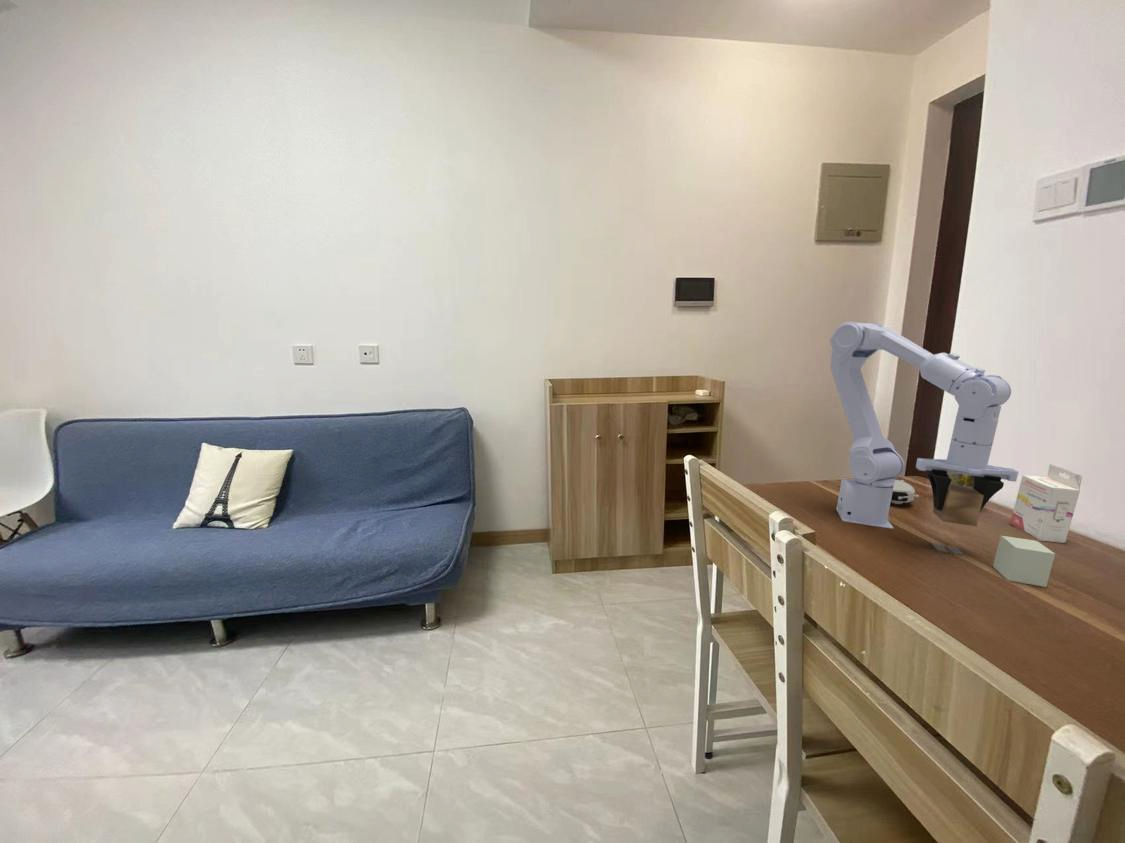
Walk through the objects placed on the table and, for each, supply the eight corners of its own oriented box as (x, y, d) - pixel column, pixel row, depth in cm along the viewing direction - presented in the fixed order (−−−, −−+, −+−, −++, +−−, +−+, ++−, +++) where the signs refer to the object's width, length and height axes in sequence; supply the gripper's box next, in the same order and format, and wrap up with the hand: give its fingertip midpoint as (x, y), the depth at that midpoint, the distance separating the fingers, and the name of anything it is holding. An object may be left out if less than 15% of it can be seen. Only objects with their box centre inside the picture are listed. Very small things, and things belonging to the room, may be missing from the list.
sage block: (1007, 580, 78) (1016, 547, 76) (992, 566, 82) (1000, 535, 81) (1046, 587, 76) (1055, 553, 75) (1028, 572, 81) (1036, 540, 79)
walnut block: (943, 521, 86) (950, 491, 85) (932, 511, 90) (939, 482, 89) (976, 526, 84) (983, 495, 83) (964, 516, 89) (971, 486, 87)
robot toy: (846, 504, 114) (920, 511, 108) (848, 487, 113) (922, 492, 107) (838, 489, 125) (905, 494, 119) (839, 473, 124) (906, 477, 118)
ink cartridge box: (1007, 523, 103) (1023, 460, 100) (1033, 526, 102) (1050, 463, 99) (1038, 541, 95) (1056, 472, 92) (1066, 544, 94) (1086, 475, 91)
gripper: (932, 441, 83) (917, 511, 86) (1035, 452, 78) (1015, 526, 81) (918, 433, 89) (904, 499, 92) (1012, 442, 85) (995, 511, 87)
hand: (955, 511), depth 87 cm, fingers closed on walnut block, 5 cm apart
